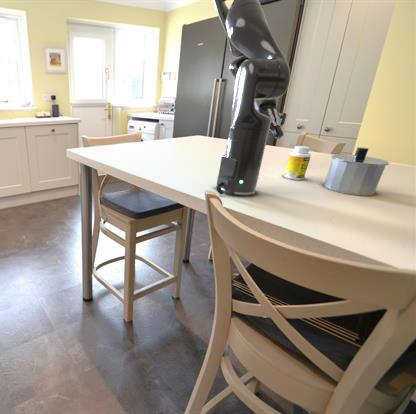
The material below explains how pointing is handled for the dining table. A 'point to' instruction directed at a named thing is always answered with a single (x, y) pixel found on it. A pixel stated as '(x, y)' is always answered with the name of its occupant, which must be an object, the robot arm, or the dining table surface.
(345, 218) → the dining table surface
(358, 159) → the pot lid
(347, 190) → the pot
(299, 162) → the supplement bottle
